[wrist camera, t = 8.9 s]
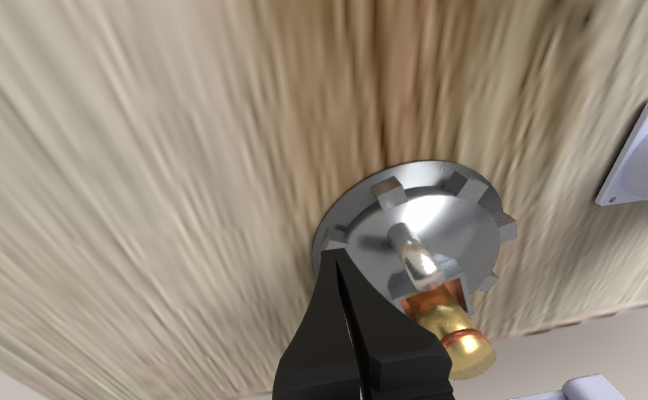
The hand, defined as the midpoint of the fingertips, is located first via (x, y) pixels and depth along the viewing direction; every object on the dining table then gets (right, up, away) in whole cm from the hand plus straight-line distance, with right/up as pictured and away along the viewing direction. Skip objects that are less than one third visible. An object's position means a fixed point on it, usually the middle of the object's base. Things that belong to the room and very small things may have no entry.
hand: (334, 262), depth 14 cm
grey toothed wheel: (+6, 0, +6) cm, 8 cm away
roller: (+8, -4, +5) cm, 10 cm away
